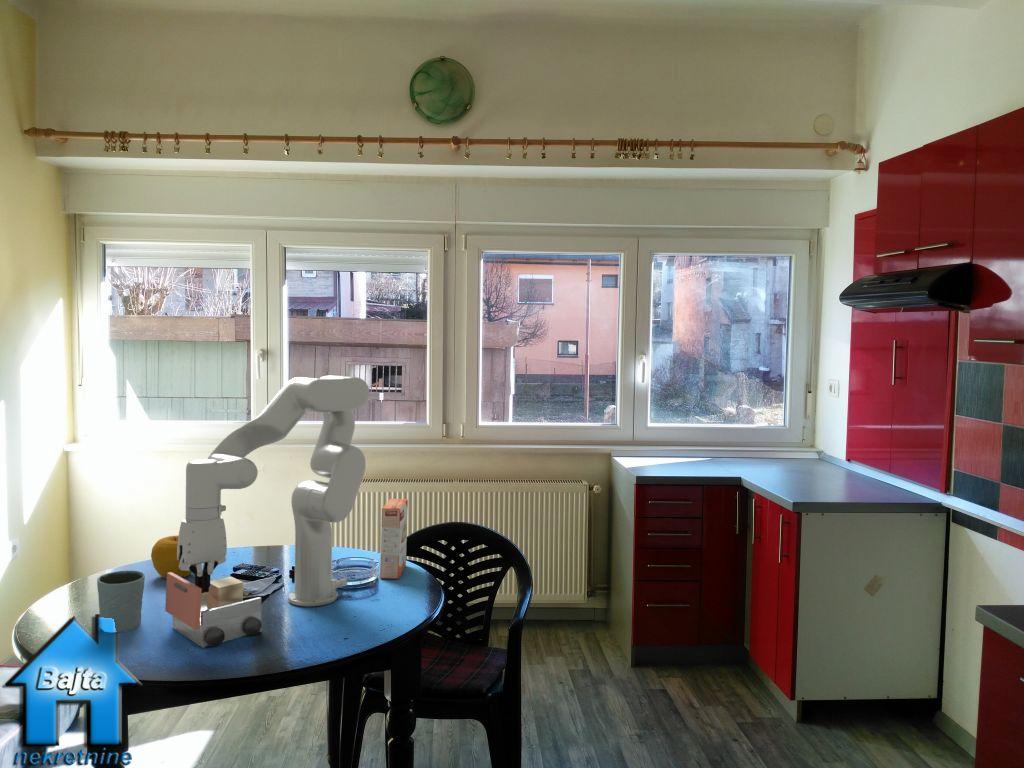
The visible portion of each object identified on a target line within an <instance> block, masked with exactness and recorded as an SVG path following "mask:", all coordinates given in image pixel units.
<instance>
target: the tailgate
mask: <svg viewBox="0 0 1024 768" xmlns="http://www.w3.org/2000/svg"><path fill="white" fill-rule="evenodd" d="M165 590H166V591H165V607H164V608H165V610H164V611H165V612H166V613H168V614H169V615H171V617H173V616H174V617H176V618H177V619H179V620H180V621H182V622H183V623H185V624H187V625H188V626H190V627H191V628H193V629H194V630H197V629H200V612H201V593H202V589H201V588H199V587H198V586H196V585H195V583H192V582H190V581H188V580H187V579H185V578H184V577H183V578H181V577H179V576H178V575H176V574H174V573H172V572H169V573H167V579H166V587H165Z"/></svg>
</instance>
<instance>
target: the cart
mask: <svg viewBox="0 0 1024 768" xmlns="http://www.w3.org/2000/svg"><path fill="white" fill-rule="evenodd" d="M262 626H263V623H262V597H260V596H258V597H254V598H250V599H245V600H243V601H241V602H237V603H233V604H229V605H225V606H221V607H217V608H213V609H210V608H209V607H207V592H204V593H201V612H200V629H197V630H194V629H193V628H191V627H190V626H188V625H187V624H185V623H183V622H182V621H180V620H179V619H177V618H176V617H174V616H172V629H174V630H175V631H177V632H178V633H180V634H181V635H183V636H184V637H186V638H187V639H189V640H190V641H192V642H193V643H195V644H197V646H199V647H201V648H207V646H208V647H212V648H213V647H215V646H216V647H218V646H220V645H221V644H222V643H225V642H228V640H229V641H231V640H232V641H233V640H235V638H236V639H239V638H243V637H246V636H250V637H252V636H253V637H254V636H256V635H258V634H259V632H262ZM242 636H243V637H242ZM216 647H215V648H216Z"/></svg>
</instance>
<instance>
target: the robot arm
mask: <svg viewBox="0 0 1024 768" xmlns="http://www.w3.org/2000/svg"><path fill="white" fill-rule="evenodd" d="M369 398H370V388H369V385H368V383H367V382H366V381H365V380H364V379H362V378H360V377H356V376H346V375H337V374H335V375H334V374H327V375H323V376H321V377H320V378H317V377H308V376H306V377H305V376H296V377H293V378H291V379H290V380H288V381H286V383H285V384H284V386H283V387H282V388H281V389H280V390H279V391H278V392H277V393H276V394H275V396H273V398H272V399H271V401H269V403H268V404H267V405H266V406H265V407H264V408H263V409H262V411H260V413H259V414H258V415H257V416H256V417H254V418H252V419H251V420H250V421H247V422H246V423H244V424H243V425H241V426H239V427H238V428H237V429H234V430H233V431H232V432H231V433H229V434H228V435H227V436H225V437H224V438H223V440H222V441H220V442H219V444H218V445H217V446H216V447H215V448H214V450H213V451H212V452H211V453H210V455H209V456H208V458H199V459H193V460H190V461H189V462H188V463H187V464H186V467H185V519H182V520H181V522H180V526H179V531H178V535H179V536H178V535H177V536H178V546H177V559H178V561H180V563H179V567H178V568H179V569H180V570H184V571H191V574H194V585H196V586H198V587H199V588H201V589H202V593H204V592H209V587H210V581H211V575H213V573H214V570H215V569H216V568H217V567H218V566H219V565H221V564H222V565H223V564H224V563H226V561H227V557H226V556H227V553H228V551H227V550H228V546H227V545H228V544H227V542H228V541H227V530H226V524H225V520H224V518H223V516H222V512H225V511H226V510H227V506H226V505H222V504H221V503H222V501H221V500H222V490H242V489H247V488H248V487H250V486H252V485H253V484H254V483H255V481H256V480H257V478H258V474H259V473H258V472H259V471H258V467H257V465H256V464H255V462H254V461H252V460H250V459H249V458H246V457H247V456H248V455H249V454H250V453H252V452H253V451H255V450H257V449H260V448H261V447H265V446H267V445H271V444H274V443H277V442H280V441H281V440H284V439H285V438H286V437H287V436H288V435H289V433H290V432H291V431H292V429H294V427H296V425H297V424H298V423H299V421H300V420H301V419H302V418H303V417H304V416H305V414H306V413H307V412H316V413H322V414H323V415H322V416H323V421H322V427H321V429H320V431H319V432H320V433H319V435H318V438H317V441H316V443H315V446H314V449H313V452H312V455H311V458H310V463H309V464H310V469H311V471H312V472H313V473H314V474H316V475H317V476H320V477H323V478H328V479H329V482H325V481H320V480H314V479H311V480H309V479H308V480H303V481H302V482H300V483H299V484H297V485H296V486H295V488H294V489H293V491H292V494H291V500H290V501H291V502H290V503H291V508H292V509H291V511H292V515H293V521H294V590H293V591H292V592H290V593H289V595H287V596H288V597H287V599H288V602H289V603H290V604H292V605H295V606H297V607H309V608H310V607H321V606H325V605H329V604H331V603H333V602H335V601H337V599H338V591H337V589H338V588H340V587H345V586H347V585H348V580H347V578H339V579H338V578H337V577H336V578H332V575H333V574H332V572H333V571H332V570H333V569H332V568H333V567H332V566H333V563H332V562H333V559H332V558H333V556H332V555H333V530H332V529H333V528H332V524H333V523H340V522H342V521H344V520H346V519H347V517H348V516H349V515H350V514H351V512H352V510H353V507H354V504H355V502H356V500H357V496H358V493H359V491H360V487H361V485H362V482H363V479H364V475H365V472H366V471H365V470H366V457H365V454H364V453H363V451H362V450H361V449H360V448H359V447H357V446H355V445H352V444H351V443H352V441H353V437H354V432H355V427H356V422H355V416H354V413H353V411H354V410H359V409H361V408H363V406H365V404H367V403H368V400H369ZM331 523H332V524H331Z"/></svg>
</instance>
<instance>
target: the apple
mask: <svg viewBox="0 0 1024 768" xmlns="http://www.w3.org/2000/svg"><path fill="white" fill-rule="evenodd" d="M178 536H179V534H178V535H170V536H165V537H162V538H160V539H158V540H157V541H156V543H155V544H154V545H153V547H152V549H151V553H150V557H151V562H152V565H153V568H154V570H155V571H156V572H157V573H158V575H160V577H162V578H163V579H166V580H167V573H169V572H172V573H174V574H176V575H178V576H179V577H181V578H183V579H184V578H186V577H188V576H190V575H191V574H192V572H191V571H184V570H180V569H179V568H178V567H179V563H180V561H178V559H177V546H178Z"/></svg>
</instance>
